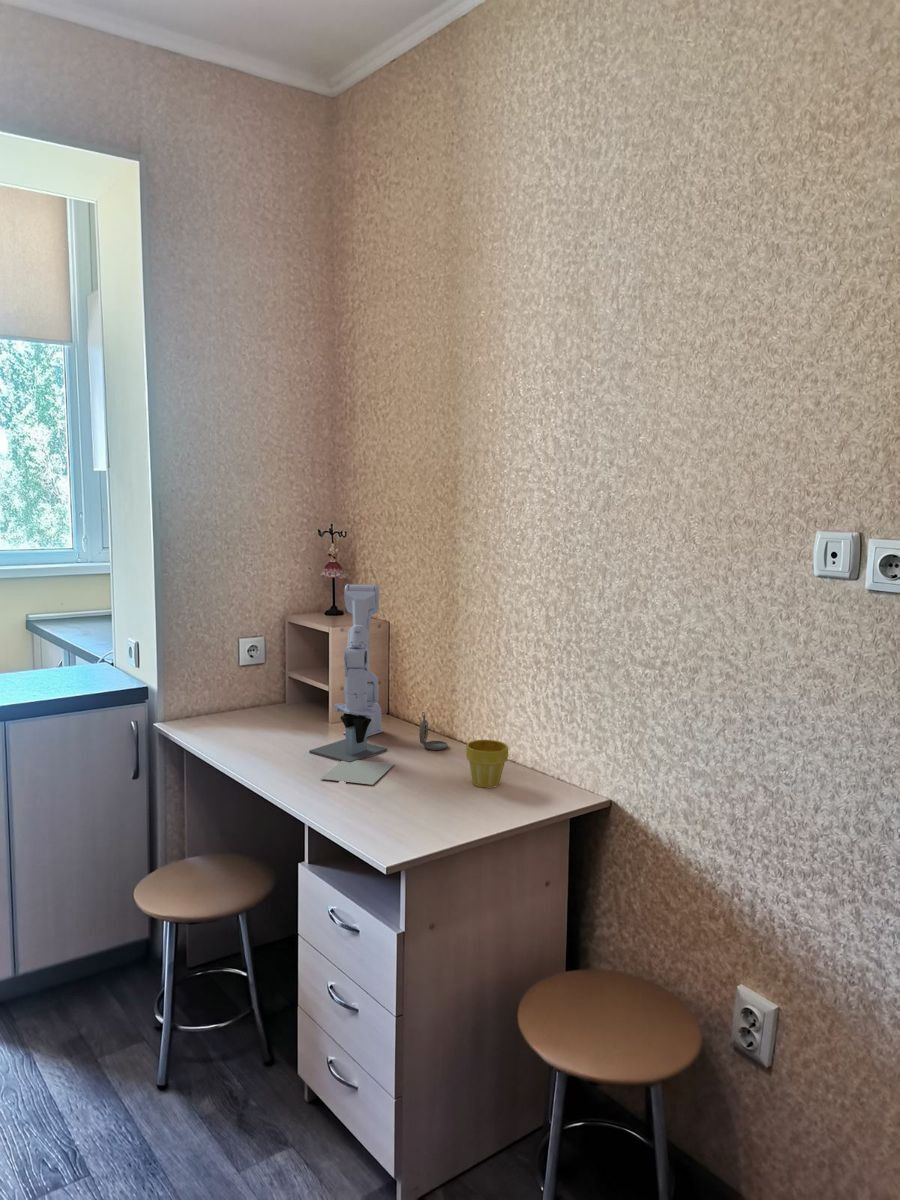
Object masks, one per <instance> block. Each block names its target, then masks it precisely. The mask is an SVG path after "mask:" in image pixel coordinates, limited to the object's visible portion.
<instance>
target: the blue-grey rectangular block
mask: <svg viewBox="0 0 900 1200" xmlns="http://www.w3.org/2000/svg"><path fill="white" fill-rule="evenodd" d="M345 731H346V734H345V739H346V754H350V755H353V754H356V753H359V752H362V751H365V750H367V743H368V737H367V731H366V734H365V738H364V742H361V743H357V741H356V730H355V726H352V727H348V728H345Z"/></svg>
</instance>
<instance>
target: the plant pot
mask: <svg viewBox="0 0 900 1200" xmlns="http://www.w3.org/2000/svg"><path fill="white" fill-rule="evenodd" d="M465 754H466V755H465V757H466V760H467V761H468V762H469V764H468V765H469V769H470V776H471V781H472V784H473V785H474V786H475V785H476V786H475V787H477V786H479V787H478V788H482V787H493V788H495V787H494V786H497V785H498V786H499V785H500V783H501V779H502V774H503V772H504V771H503V770H504V767H505V763H506V762H508V758H509V746H508V744H507V743H505V742H503V741H500V740H499V741H498V740H493V739H476V740H475V739H474V740H472V741H469V742H468V743H467V744H466V748H465ZM498 786H497V787H498Z"/></svg>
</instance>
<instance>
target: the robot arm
mask: <svg viewBox="0 0 900 1200" xmlns="http://www.w3.org/2000/svg"><path fill="white" fill-rule="evenodd" d="M343 594H344V596H343V597H344V598H343V599H344V605H345V609H346V611H347V613H349V614H351V615H352V626H351V627H350V628H348V630H347V641H346V649H345V650H344V653H343V669H344V676H345V678H344V685H343V686H344V687H343V688H344V689H343V697H344V699H343V700H344V702H345V703H341V702H340V703H336V704H334V712H336V713H339V712H340V713H343V715H341V716H340V720H341V721H342V723H343V725H344V727H345V729H346V728H348V727H352V726H355V730H356V741H357V743H361V742H364V738H365V734H366V731H367V738H368V737H371V736H374V735H377V734H379V733H382V732H384V729H382V708H381V705H380V704H379V703H378V702H379V694H380V693H379V692H380V691H379V678H378V675H376V674H375V673H374V672H372V671H371V670H370V648H371V647H370V640H371V639H370V637H371V635H370V634H371V632H370V630H371V619H372V617H373V615H376V614H377V613H379V612H378V611H379V608H380V605H379V604H380V586H379V585H378V584H349V583H346V585H345V586H344V593H343ZM342 734H344V735H346V730H345V731H342Z"/></svg>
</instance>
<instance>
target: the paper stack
mask: <svg viewBox="0 0 900 1200" xmlns="http://www.w3.org/2000/svg"><path fill="white" fill-rule="evenodd" d="M394 765H395V763H392V762H391V763H389V762H379V761H370V760H364V759H362V760H355V761H352V762H346V761H342V762H341V761H339V763H338V764H337V765H335V766H334V767H332V768H331V769H330V770H329V771H328V772H326V773H325V774H324V775H323V776H321V777H320V778H319V779H320V780H327V781H336V782H338V781H344V782H346V783H353V784H354V783H355V784H364V785H369V786H370V785H372V786H373V785H374V784H375V783H376V782H378V780H379V779H380V778H382V777H383V776H384V775H385V774H386V773H388V771H389V770H390V769H391V768H392V767H393V766H394Z"/></svg>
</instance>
